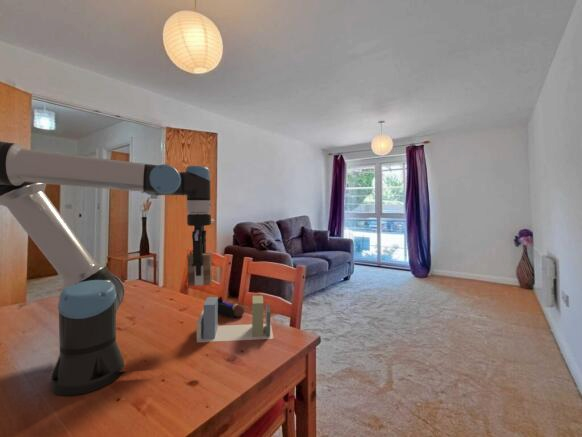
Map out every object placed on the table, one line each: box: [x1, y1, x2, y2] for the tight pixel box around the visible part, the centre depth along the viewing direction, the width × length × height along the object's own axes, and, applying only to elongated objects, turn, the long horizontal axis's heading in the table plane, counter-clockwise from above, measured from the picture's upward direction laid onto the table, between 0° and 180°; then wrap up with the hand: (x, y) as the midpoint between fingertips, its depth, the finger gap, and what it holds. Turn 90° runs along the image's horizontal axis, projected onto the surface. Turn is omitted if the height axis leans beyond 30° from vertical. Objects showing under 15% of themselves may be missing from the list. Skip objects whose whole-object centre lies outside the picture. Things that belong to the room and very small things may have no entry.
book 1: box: [186, 252, 213, 287], centre depth 96 cm, size 4×7×10 cm, turn 99°
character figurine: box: [218, 296, 245, 319], centre depth 113 cm, size 8×7×15 cm
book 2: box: [203, 296, 219, 339], centre depth 95 cm, size 8×4×11 cm, turn 8°
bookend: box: [265, 302, 271, 336], centre depth 98 cm, size 9×1×8 cm, turn 8°
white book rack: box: [196, 309, 275, 343], centre depth 96 cm, size 12×24×8 cm, turn 98°
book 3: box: [251, 295, 265, 337], centre depth 97 cm, size 8×4×11 cm, turn 8°
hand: (200, 282), depth 96 cm, fingers closed on book 1, 4 cm apart
